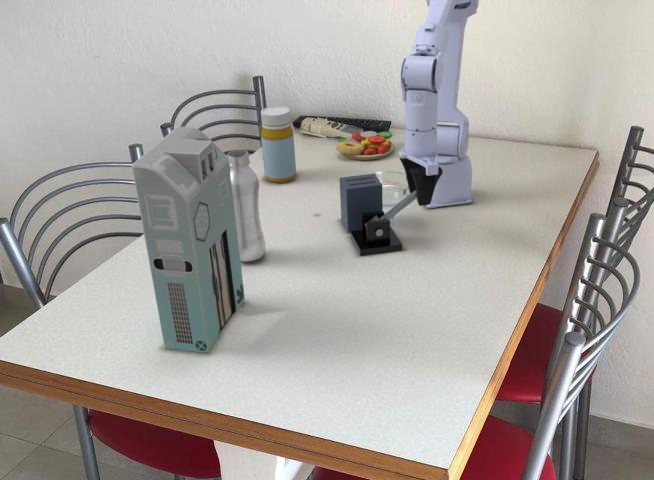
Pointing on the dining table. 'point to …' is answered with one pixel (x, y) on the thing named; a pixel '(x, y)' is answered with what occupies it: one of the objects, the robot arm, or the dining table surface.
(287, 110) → the bottle
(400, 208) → the lever
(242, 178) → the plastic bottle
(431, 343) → the dining table surface
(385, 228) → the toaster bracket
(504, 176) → the dining table surface
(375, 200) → the toaster body
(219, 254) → the device
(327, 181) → the dining table surface
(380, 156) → the toy food set
